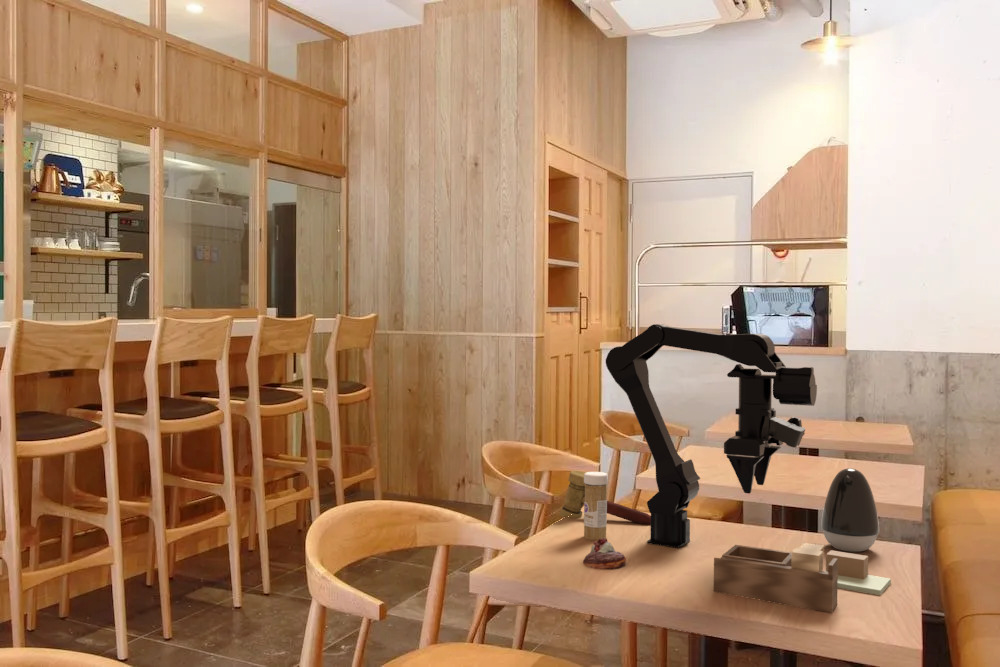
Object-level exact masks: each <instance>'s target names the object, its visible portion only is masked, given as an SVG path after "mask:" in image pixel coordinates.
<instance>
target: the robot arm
mask: <svg viewBox="0 0 1000 667" xmlns="http://www.w3.org/2000/svg"><path fill="white" fill-rule="evenodd" d="M664 346H665V347H670V348H677V349H684V350H689V351H697V352H702V353H709V354H715V355H718V356H721V357H724V358H726V359H728V360H730V361H733V362H737V364H736V365H735V366H734V368H733V369H732V370H730V371H729V372H728V373H727V375H726V376H727V377H728V378H738V407H736V408H735V415H738V420H737V421H738V424H737V425H738V429H737V430H735V433H734V436H731V437H729V438H727V440H725V442H723V455H725V456H726V458H727V459H728V460H729V463H730V464H731V466H732V469H733V471H734V473H735V476H736V477H737V480H738V482H739V484H740V486H741V489H742V490H743V493H744V494H751V492H752V488H753V483H754V479H755V481H756V484H757V486H763V485H765V480H766V477H767V473H768V470H769V465H770V462H771V459H772V456H773V455H774V454H776V452H778V451H779V450H780V449H781V448H782V447H781V446H782V445H783V444H785V445H786V446H788V447H791V448H797V447H799V446H800V444H801V442H802V439H803V437H804V435H805V431H806V428H805V427H804V426H803V425H802V424H803V422H802V419H801V418H799V417H796V416H792V417H790V418H789V419H788V420H786V419H784V418H779V417H777V412H776V409H775V408H773V407H772V397H773V398H774V399H775V400H778V402H779V404H780V405H787V406H788V405H790V406H809V407H810V406H813V407H814V406H815V405H816V400H817V392H818V391H817V390H818V387H817V386H818V385H817V384H816V377H815V371H814V367H813V366H804V367H803V366H802V367H787V366H786V365H785V363H783V361H782V360H781V358H780V357H779V355H777V353H776V347H775V343H774V340H772V338H770V336H768V335H767V334H764V333H741V334H739V333H738V334H721V333H715V332H708V331H702V330H696V329H687V328H681V327H674V326H669V325H667V324H664V323H662V324H660V323H659V324H656V323H655V324H651V325H650V326H648V327H647V329H645V330H644V331H643V332H642V333H640V334H638V335H637V336H635V337H634V338H633V337H632V339H630V340H629V341H627V342H626V343H625V344H623V345H620V346H614V347H613V348H612V349H610V350H609V352H607V355H606V358H605V366H606V368H607V370H608V372H609V373H610V375H611V377H612V378H613V380H614V382H615V383H616V384H617V385H618V386H619V387H620V388H621V390H623V391H624V393H625V394H626V396H627V397H628V401H629V402H630V405H631V408H632V410H633V412H634V415H635V418H636V419H637V422H638V424H639V427H640V429H641V432H642V434H643V436H644V439H645V441H646V443H647V446H648V449H649V451H650V453H651V455H652V458H653V460H654V464H655V466H654V468H655V480H656V481H655V482H656V484H657V485H656V486H657V490H658V491H657V492H656V494H654V495H653V496H652V497H651V498H650V499H649V500H647V501H646V506H647V509H648V511H649V513H650V516H651V525H650V539H648V540H647V541H646V542H647V543H646V544H647V545H656V546H662V547H669V548H675V549H676V548H677V549H681V548H682V547H683V546H685V545H686V544H688V543H689V542H690V541H691V539H690V538H691V536H690V534H691V532H690V530H691V520H690V518H688V510H685V509H687V508H689V505H690V502H691V501H692V500H694V499H695V498H696V497H697V495H698V493H699V490H700V483H699V480H700V479H701V477H700V476H699V475H698V473H697V471H696V469H695V465H694V462H693V459H688V460H684V459H683V458H682V457H681V456H680V454H678V452H677V449H676V447H675V445H674V442H673V439H672V437H671V435H670V432H669V431H668V430H669V429H668V428H667V426H666V424H665V421H664V419H663V416H662V414H661V412H660V408H659V407H658V405H657V404H658V403H657V402H656V400H655V397H654V395H653V393H652V389H651V387H650V383H649V382H650V381H649V379H650V378H649V376H650V375H649V368H648V363H647V361H648V360H650V359H651V358H652V357H653V356H655V355H656V353H657V352H659V351H660V350H661V349H662V348H663V347H664ZM743 365H746V366H749V367H757V368H745V367H743ZM761 371H762V372H763V373H775V374H763V373H762V372H761ZM772 380H773V381H772ZM772 382H773V383H772ZM772 395H773V396H772ZM774 444H775V445H774Z"/></svg>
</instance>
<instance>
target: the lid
mask: <svg viewBox="0 0 1000 667" xmlns="http://www.w3.org/2000/svg"><path fill="white" fill-rule="evenodd" d="M833 558H836V559H838V581H837V589H840V590H841V589H842V590H847V591H854V592H860V593H864V594H865V593H866V594H871V595H877V596H882V594H883V593H884V592H885V590H886V589H888V587H890V584H891V582H892V578H890V577H883V576H876V575H871V574H869V555H862V554H857V553H853V552H852V553H851V552H846V551H840V550H839V551H838V550H833V549H832V550H831V549H830V550H829V551H828V552H827V553H826V554H825V570H824V571H826V572H828V565H829V563H830V562H831V561H832V560H833Z"/></svg>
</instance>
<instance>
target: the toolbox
mask: <svg viewBox="0 0 1000 667" xmlns="http://www.w3.org/2000/svg"><path fill="white" fill-rule="evenodd" d="M791 559H792V551H785V550H779V549H771V548H762V547H755V546H750V545H749V546H748V545H740V544H734V545H733V546H732V547H731V548H729V549H728V550H727V551H726V552H725V553H723V554H722V555H721V557H714V558H713V592H714V593H719V592H720V594H724V593H726V594H725V595H730V594H731V595H730V596H735V595H737V596H736V597H740V596H743V597H742V598H746V597H748V598H747V599H751V598H755V599H754V600H757V599H760V600H759V601H762V600H764V601H763V602H767V601H770V602H769V603H773V602H775V603H774V604H778V603H781V604H780V605H784V604H786V605H785V606H789V605H792V606H791V607H794V606H797V607H796V608H800V607H802V608H801V609H805V608H807V610H813V611H818V612H826V613H830V614H832V613H834V611H835V609H836V608H837V605H838V588H837V581H838V559H836V558H833V560H832V561H831V562H830V563H829V565H828V572H826V571H825V570H822V571H821V573H820V572H813V571H806V570H799V569H792V568H791Z"/></svg>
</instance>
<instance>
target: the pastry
mask: <svg viewBox="0 0 1000 667" xmlns="http://www.w3.org/2000/svg"><path fill="white" fill-rule="evenodd" d="M626 559H627V557H625V555H624V554H623V553H622V552H620V551H616V550H615V548H614V546H613V545H612V544H611V542H609V541H608V538H607V537H606V538H601V539H599V540H593V545H592V546H591V549H590V552H589V553H588V554H586V555H585V557H584V558H583V560H582V561H583V564H584V565H585V566H588V567H589V568H593V569H599V570H616V569H617V570H618V569H621V568H624V567H625V566H626V563H627V560H626Z"/></svg>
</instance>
